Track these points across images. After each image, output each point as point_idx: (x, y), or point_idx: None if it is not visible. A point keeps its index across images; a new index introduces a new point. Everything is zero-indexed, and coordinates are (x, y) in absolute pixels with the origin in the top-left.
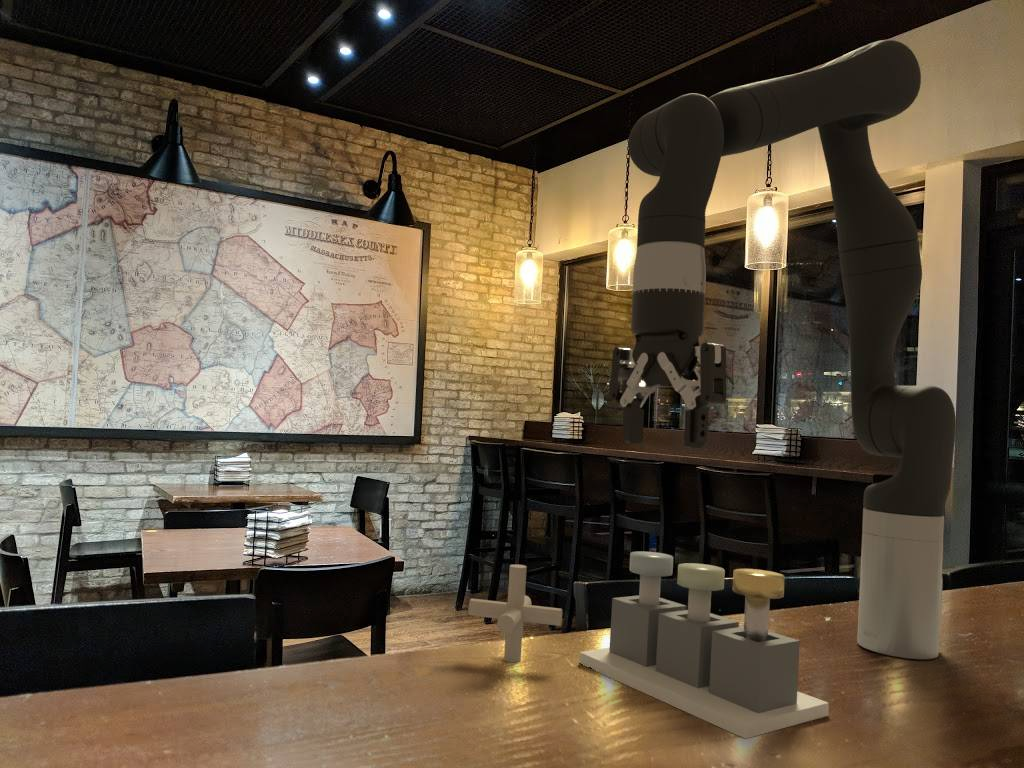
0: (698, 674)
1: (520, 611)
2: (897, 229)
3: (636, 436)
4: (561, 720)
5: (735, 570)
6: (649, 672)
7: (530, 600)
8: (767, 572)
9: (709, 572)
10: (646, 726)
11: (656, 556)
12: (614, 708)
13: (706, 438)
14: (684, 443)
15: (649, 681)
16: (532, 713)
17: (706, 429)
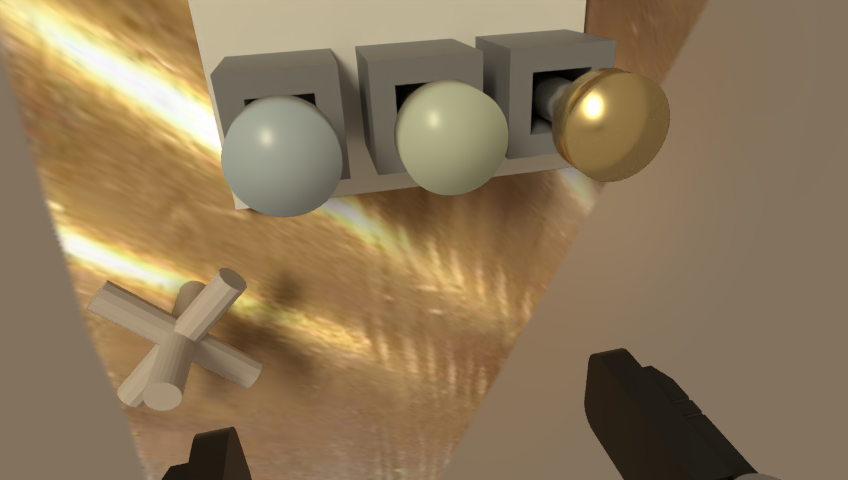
0: None
1: (204, 342)
2: None
3: (238, 477)
4: (429, 324)
5: (577, 159)
6: (367, 158)
7: (107, 290)
8: (621, 96)
9: (501, 162)
10: (484, 247)
11: (302, 161)
12: (423, 252)
13: (667, 376)
14: (591, 425)
15: (402, 184)
16: (400, 344)
17: (695, 410)
